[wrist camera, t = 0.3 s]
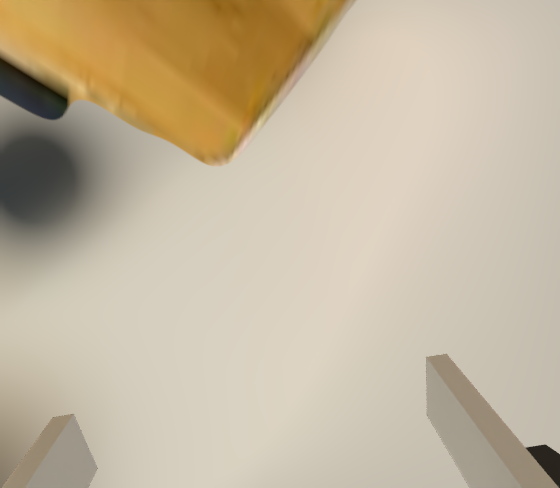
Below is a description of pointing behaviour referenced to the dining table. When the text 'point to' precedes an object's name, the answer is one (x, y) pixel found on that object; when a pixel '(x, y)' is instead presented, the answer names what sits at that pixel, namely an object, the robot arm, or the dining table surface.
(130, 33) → the dining table surface
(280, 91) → the dining table surface
